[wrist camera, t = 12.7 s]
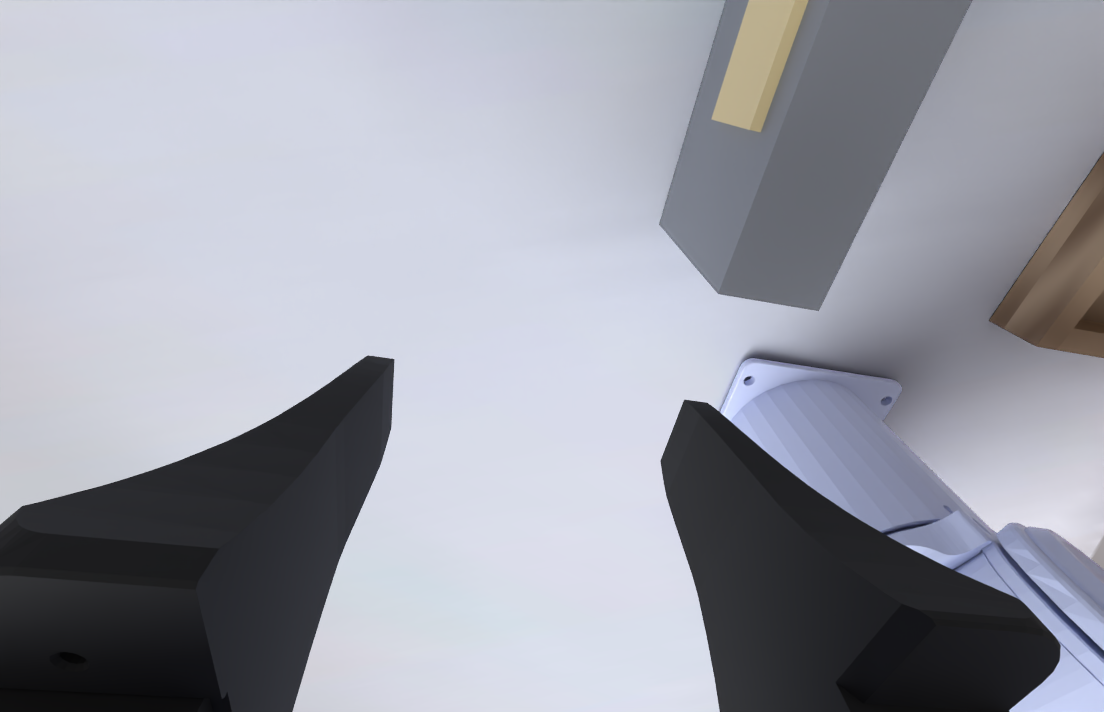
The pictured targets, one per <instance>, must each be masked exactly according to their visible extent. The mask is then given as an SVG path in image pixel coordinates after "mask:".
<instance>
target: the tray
mask: <svg viewBox="0 0 1104 712" xmlns="http://www.w3.org/2000/svg"><path fill="white" fill-rule="evenodd" d="M989 321H990V322H992V323H994V324H996V325H998V326H1000V327H1001V328H1003V329H1005V330H1007V331H1009V332H1011V333H1012V334H1014V335H1016V336H1018V337H1020V338H1022V339H1023V340H1025V341H1027V342H1029V343H1031V344H1032V345H1034V346H1037V347H1042V348H1048V349H1054V350H1060V351H1066V352H1072V353H1078V354H1083V355H1089V356H1095V357H1101V358H1104V153H1103V154H1102V156H1101V157H1100V159H1099V160H1098V162H1097V163H1096V165H1095V166H1094V168H1093V169H1092V171H1091V172H1090V174H1089V175H1088V176H1087V178H1086V179H1085V181H1084V182H1083V184H1082V185H1081V187H1080V188H1079V190H1078V191H1077V193H1076V194H1075V195H1074V197H1073V198H1072V200H1071V201H1070V203H1069V204H1068V206H1067V207H1066V209H1065V210H1064V212H1063V213H1062V215H1061V216H1060V217H1059V219H1058V220H1057V222H1056V223H1055V225H1054V226H1053V228H1052V229H1051V231H1050V232H1049V234H1048V235H1047V236H1046V238H1045V239H1044V241H1043V242H1042V244H1041V245H1040V247H1039V248H1038V250H1037V251H1036V253H1035V254H1034V256H1033V257H1032V258H1031V260H1030V261H1029V263H1028V264H1027V266H1026V267H1025V269H1024V270H1023V272H1022V273H1021V275H1020V276H1019V277H1018V279H1017V280H1016V282H1015V283H1014V285H1013V286H1012V288H1011V289H1010V291H1009V292H1008V294H1007V295H1006V297H1005V298H1004V299H1003V301H1002V302H1001V304H1000V305H999V307H998V308H997V310H996V311H995V313H994V314H993V316H992V317H991V319H990V320H989Z"/></svg>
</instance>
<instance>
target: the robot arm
mask: <svg viewBox="0 0 1104 712" xmlns="http://www.w3.org/2000/svg"><path fill="white" fill-rule="evenodd" d="M748 376H751V378H750V379H749V380H747V381H744V379H745V378H746V377H748ZM393 377H394V359H389V358H382V357H375V356H366V357H365V358H363V359H362V360H361V361H359V362H358V363H356V364H355V365H353V366H352V367H351V368H349V369H348V370H347V371H345V372H344V373H342V374H341V375H340V376H338V377H337V378H335V379H334V380H333V381H331V382H330V383H328V384H327V385H326V386H324V387H323V388H321V389H320V390H318V391H317V392H315V393H314V394H312V395H311V396H309V397H308V398H306V399H305V400H303V401H301V402H300V403H298V404H296V405H295V406H293V407H292V408H290V409H288V410H287V411H285V412H283V413H282V414H280V415H278V416H277V417H275V418H273V419H271V420H269V421H267V422H266V423H264V424H262V425H260V426H258V427H256V428H254V429H252V430H250V431H248V432H246V433H244V434H242V435H240V436H237V437H235V438H233V439H231V440H229V441H227V442H224V443H222V444H219V445H217V446H214V447H212V448H209V449H207V450H205V451H202V452H200V453H197V454H195V455H192V456H190V457H187V458H185V459H182V460H180V461H177V462H174V463H172V464H169V465H166V466H163V467H160V468H157V469H154V470H152V471H149V472H145V473H142V474H139V475H136V476H133V477H130V478H127V479H123V480H120V481H117V482H113V483H110V484H107V485H103V486H100V487H96V488H92V489H88V490H85V491H81V492H77V493H73V494H69V495H65V496H62V497H58V498H54V499H50V500H46V501H42V502H38V503H34V504H30V505H25V506H22V507H21V508H20V509H18V510H17V511H16V512H15V513H13V514H12V515H11V516H10V517H9V518H8V519H6V520H5V521H4V522H3V523H2V524H1V525H0V712H292V711H293V708H294V704H295V701H296V697H297V694H298V691H299V687H300V684H301V680H302V677H303V674H304V670H305V667H306V663H307V660H308V657H309V653H310V650H311V647H312V643H313V640H314V637H315V634H316V631H317V627H318V624H319V621H320V618H321V614H322V611H323V608H324V605H325V602H326V599H327V595H328V592H329V589H330V586H331V583H332V580H333V577H334V574H335V571H336V568H337V565H338V562H339V559H340V557H341V554H342V552H343V549H344V546H345V544H346V542H347V539H348V537H349V535H350V533H351V530H352V528H353V526H354V524H355V521H356V519H357V517H358V515H359V512H360V510H361V508H362V506H363V503H364V501H365V499H366V497H367V494H368V492H369V490H370V488H371V485H372V483H373V481H374V478H375V476H376V474H377V471H378V469H379V467H380V464H381V461H382V458H383V455H384V451H385V448H386V445H387V441H388V437H389V434H390V430H391V420H392V398H393ZM901 391H902V386H901V385H900V384H899V383H898V382H897V381H895V380H892V379H886V378H879V377H873V376H867V375H860V374H854V373H847V372H841V371H834V370H828V369H821V368H815V367H808V366H802V365H795V364H789V363H782V362H776V361H769V360H763V359H756V358H750V359H747V360H745V361H744V362H743V363H742V364H741V366H740V368H739V370H738V372H737V375H736V377H735V379H734V381H733V384H732V386H731V388H730V391H729V393H728V395H727V398H726V400H725V402H724V404H723V407H722V409H721V411H720V412H719V411H717V410H716V409H715V408H714V407H712V406H711V405H709V404H708V403H704V402H697V401H690V400H684V402H683V405H682V407H681V410H680V412H679V415H678V417H677V420H676V423H675V425H674V428H673V430H672V433H671V435H670V438H669V441H668V443H667V446H666V448H665V451H664V453H663V456H662V459H661V467H662V474H663V480H664V485H665V490H666V496H667V499H668V502H669V506H670V509H671V512H672V515H673V518H674V521H675V524H676V527H677V530H678V533H679V536H680V539H681V542H682V545H683V548H684V551H685V554H686V557H687V560H688V563H689V566H690V570H691V573H692V576H693V579H694V583H695V586H696V590H697V593H698V597H699V602H700V607H701V611H702V616H703V620H704V625H705V630H706V634H707V640H708V645H709V650H710V656H711V661H712V666H713V672H714V677H715V683H716V690H717V696H718V703H719V709H720V712H1104V569H1103V568H1102V567H1100V566H1099V565H1098V564H1097V563H1095V562H1094V561H1093V560H1092V559H1090V558H1089V557H1088V556H1086V555H1085V554H1084V553H1083V552H1081V551H1080V550H1079V549H1077V548H1076V547H1075V546H1073V545H1072V544H1071V543H1069V542H1068V541H1067V540H1065V539H1064V538H1062V537H1061V536H1059V535H1058V534H1056V533H1055V532H1053V531H1051V530H1049V529H1043V528H1036V527H1025V526H1023V525H1021V524H1019V523H1009V524H1007V525H1006V526H1005V527H1004V528H1003V529H1002V530H1000V531H999V532H998V533H996V532H995V531H993V530H992V529H991V528H990V527H989V526H988V525H987V524H985V523H984V522H983V521H982V520H981V519H980V518H979V517H978V516H977V515H976V514H975V513H974V512H973V511H972V510H971V509H970V508H969V507H968V506H967V505H966V504H965V503H964V502H963V501H962V500H961V499H960V498H959V497H958V496H957V495H956V494H955V493H954V492H953V491H952V490H951V489H950V488H949V487H948V486H947V485H946V484H945V483H944V482H943V481H942V480H941V479H940V478H939V477H938V476H937V475H936V474H935V473H934V472H933V471H932V470H931V469H930V468H929V467H928V466H927V465H926V464H925V463H924V462H923V461H922V460H921V459H920V458H919V457H918V456H917V455H916V454H915V453H914V452H913V451H912V450H911V449H910V448H909V447H908V446H907V445H906V444H905V443H904V442H903V441H902V440H901V439H900V438H899V437H898V436H897V435H896V434H895V433H894V432H893V431H892V430H891V429H890V428H889V427H888V426H887V425H886V424H885V423H884V422H883V420H884V419H885V417H886V416H887V414H888V412H889V411H890V409H891V408H892V406H893V405H894V403H895V402H896V400H897V398H898V397H899V395H900V394H901ZM885 397H886V398H885ZM883 398H885V399H884V400H882V399H883ZM881 400H882V401H881Z"/></svg>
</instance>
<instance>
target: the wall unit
mask: <svg viewBox="0 0 1104 712" xmlns="http://www.w3.org/2000/svg"><path fill="white" fill-rule="evenodd" d="M971 2H972V0H726V2H725V5H724V9H723V12H722V15H721V19H720V22H719V25H718V29H717V32H716V35H715V39H714V42H713V46H712V49H711V52H710V56H709V59H708V62H707V66H706V69H705V72H704V76H703V79H702V82H701V86H700V89H699V93H698V96H697V99H696V103H695V106H694V109H693V113H692V116H691V119H690V123H689V126H688V130H687V133H686V136H685V140H684V143H683V146H682V150H681V153H680V156H679V160H678V163H677V166H676V170H675V173H674V177H673V180H672V183H671V187H670V190H669V193H668V197H667V200H666V203H665V207H664V210H663V213H662V217H661V220H660V224H659V225H660V226H661V227H662V228H663V230H664V231H665V232H666V233H667V234H668V235H669V237H670V238H671V239H672V240H673V241H674V242H675V244H676V245H677V246H678V247H679V248H680V250H681V251H682V252H683V253H684V254H685V255H686V257H687V258H688V259H689V260H690V261H691V263H692V264H693V265H694V266H695V267H696V268H697V270H698V271H699V272H700V273H701V274H702V275H703V277H704V278H705V279H706V280H707V281H708V283H709V284H710V285H711V286H712V287H713V288H714V290H715V291H716V292H717V293H718V294H722V295H728V296H734V297H739V298H745V299H751V300H757V301H763V302H769V303H775V304H781V305H786V306H792V307H798V308H804V309H810V310H816V311H819V309H820V307H821V305H822V303H823V301H824V299H825V297H826V295H827V293H828V291H829V289H830V287H831V285H832V283H833V281H834V279H835V277H836V275H837V273H838V271H839V269H840V267H841V265H842V263H843V261H844V259H845V257H846V255H847V253H848V251H849V249H850V247H851V244H852V242H853V240H854V238H855V236H856V234H857V232H858V230H859V228H860V226H861V224H862V222H863V220H864V218H865V216H866V214H867V212H868V210H869V208H870V206H871V204H872V202H873V200H874V198H875V196H876V194H877V192H878V190H879V188H880V186H881V184H882V182H883V180H884V178H885V176H886V174H887V172H888V170H889V168H890V166H891V164H892V162H893V160H894V158H895V156H896V153H897V151H898V149H899V147H900V145H901V143H902V141H903V139H904V137H905V135H906V133H907V131H908V129H909V127H910V125H911V123H912V121H913V119H914V117H915V115H916V113H917V111H918V109H919V107H920V105H921V103H922V101H923V99H924V97H925V95H926V93H927V91H928V89H929V87H930V85H931V83H932V81H933V79H934V77H935V75H936V73H937V71H938V69H939V67H940V65H941V63H942V60H943V58H944V56H945V54H946V52H947V50H948V48H949V46H950V44H951V42H952V40H953V38H954V36H955V34H956V32H957V30H958V28H959V26H960V24H961V22H962V20H963V18H964V16H965V14H966V12H967V10H968V8H969V6H970V4H971Z"/></svg>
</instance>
